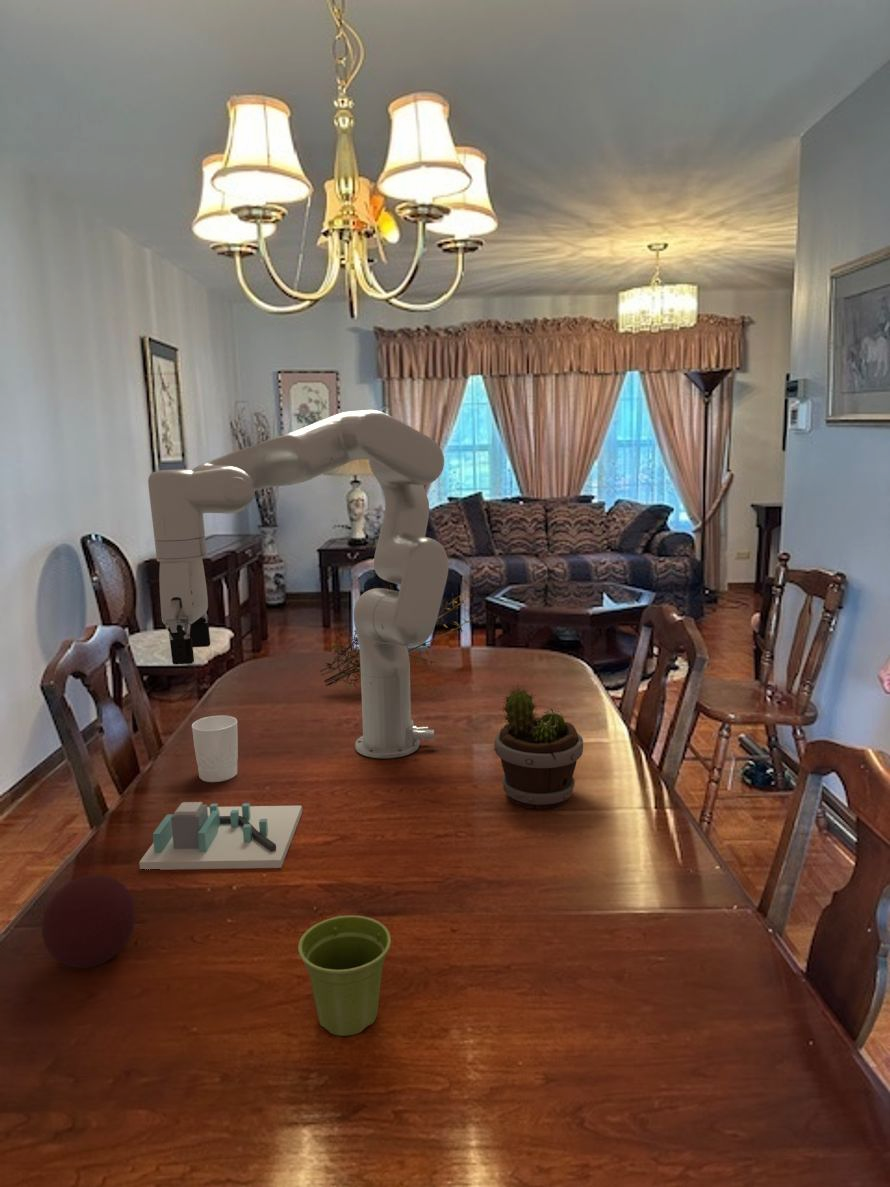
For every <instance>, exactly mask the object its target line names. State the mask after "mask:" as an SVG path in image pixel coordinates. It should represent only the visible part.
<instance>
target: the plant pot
mask: <svg viewBox="0 0 890 1187" xmlns="http://www.w3.org/2000/svg"><path fill="white" fill-rule="evenodd" d="M391 938H392V936H391V933H390V932H389V930H388V928H387V927H386V926H385V925H384V924H382V923H381V922H380V921H378V920H377V919H374V918H371V917H367V916H362V915H339V916H334V917H330V918H327V919H324V920H321V921H320V922H318V923H316V924H314V925H312V926H311V927H310V928H309V929H307V930H306V931H305V932H304V933H303V934H302V936H301V937H300V938H299V939H300V940H299V942H298V947H297V948H298V954H299V957H300V959H301V961H302V962H303V963H304V966H305V968H306V971H308V975H309V979H310V984H311V989H312V994H313V998H314V1003H315V1009H316V1014H317V1018H318V1023H319V1024H320V1027H323V1028H324V1029H326V1030H327V1031H328V1032H329V1033H330V1034H331V1035H335V1036H342V1037H343V1036H346V1037H347V1036H354V1035H357V1034H359V1033H361V1032H363V1031H364V1030H365V1029H366V1028H367V1027H368V1026H370V1025H373V1023H374V1022H375V1021H376V1018H377V1017H378V1010H379V1009H378V1008H379V1002H380V1001H379V1000H380V991H381V983H382V982H381V981H382V976H383V975H382V974H383V966H384V963H385V960H386V957H387V953H388V952H389V951H390V948H391V941H392V939H391Z"/></svg>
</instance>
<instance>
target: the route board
mask: <svg viewBox="0 0 890 1187" xmlns="http://www.w3.org/2000/svg"><path fill="white" fill-rule="evenodd" d="M207 810H208V816H209V815H210V806H207ZM232 810H238V812H239V816H241V817H243V816H242V805H241V806H218V811H219V814H220V816H230V813H231V811H232ZM250 814H251V818H250V820H247V821H248V822H249V823H250V824H251V825H252V826H253V827H254V828H255V829H256V830H257V831H258V832H260V829H259V821H260V819H267V824H268V835H267V837H266V838H268V839H269V840H270V841H272V842H273V843H275V844H276V851H273V852H270V851H269V850H268V849H266V848H265V847H264V846H263V845H261V844H260V843H259V842H257V841H256V840H255V839H253V838H252V840H251V842H244V839H243V827H242V826H241V825H240V824H239V826H238V827H237V828H231V824H220V826H219V828H218V833H217V835H216V836H215V838H214V840H213V842H212V843H211V845H210V847H209V849H208V850H207V852H199V849H174V845H173V837H172V838H171V840H170V841H169V843H168V844H167V846H166V847H165V848H164V850H163V851H162V853H154V842H153V843H152V844H151V845H150V847H149V848H148V850H147V851H146V852H145V854H143V856H142V858H141V859H140V861H139V862H138V864H139V870H140V869H145V870H144V871H148V869H149V871H151V870H150V869H160V870H161V871H162V870H164V871H165V870H172V871H173V870H220V869H221V870H225V869H226V870H228V869H230V870H232V869H236V870H237V869H279V868H280V869H282V866H283V864H284V862H285V858H286V855H287V854H288V851H289V848H290V845H291V843H292V841H293V838H294V835H295V833H296V830H297V827H298V825H299V821H300V819H301V817H302V814H303V805H258V806H257V805H254V806H253V805H250ZM146 869H147V870H146Z"/></svg>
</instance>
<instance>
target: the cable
mask: <svg viewBox="0 0 890 1187" xmlns="http://www.w3.org/2000/svg"><path fill="white" fill-rule="evenodd" d="M220 824H231V817H230V816H220ZM239 824H240V825H241V826H242V827H243V826H244V824H250V823H249V822H248V821H247V820H246V819H245V818H244V817H241V816H239ZM251 830H252V838H253V839H255V840H256V841H257V842H259V843H260V844H261V845H263V846H264V847H265V848H266V849H268V850H269V851H270V852H273V851H276V844H275V843H273V842H272V841H270V840H269V839H268V838H266V837H265V836H264V835H262V834H261V833H260V832H258V831H257V830H256V829H255V828H254V827H253V826H252V825H251Z"/></svg>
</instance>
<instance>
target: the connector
mask: <svg viewBox="0 0 890 1187" xmlns="http://www.w3.org/2000/svg"><path fill="white" fill-rule="evenodd" d="M207 807H208V804H204V803H203V801H189V802H188V801H186V802H181V803H180V805H179V806H178V807H177V808H176V810H175V811H174V813H172V814H173V815H172V817H171V822H172V834H173V845H174V849H199V841H198V832H199V831H200V829H201V827H202V826H203V824H204V823H205V821H206V819H207V818H208V810H207Z"/></svg>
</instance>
